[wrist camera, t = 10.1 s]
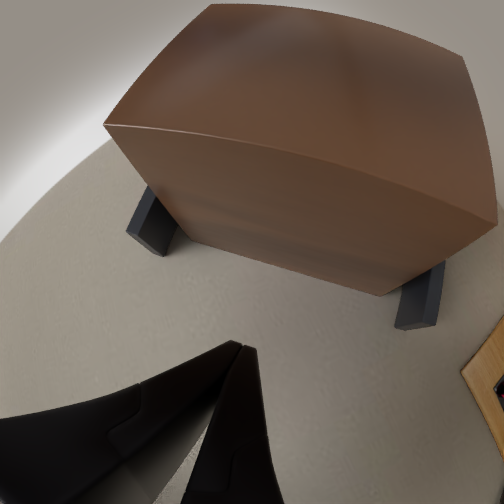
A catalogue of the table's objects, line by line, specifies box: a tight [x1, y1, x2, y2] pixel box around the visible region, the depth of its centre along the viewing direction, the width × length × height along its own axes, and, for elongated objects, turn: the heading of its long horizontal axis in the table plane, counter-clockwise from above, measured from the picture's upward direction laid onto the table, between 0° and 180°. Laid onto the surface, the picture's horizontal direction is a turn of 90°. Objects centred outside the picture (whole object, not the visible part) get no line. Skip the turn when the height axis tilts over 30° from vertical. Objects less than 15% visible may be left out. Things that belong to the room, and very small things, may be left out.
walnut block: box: [103, 4, 498, 296], centre depth 12 cm, size 8×11×10 cm
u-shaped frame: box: [126, 186, 445, 331], centre depth 15 cm, size 11×15×4 cm
